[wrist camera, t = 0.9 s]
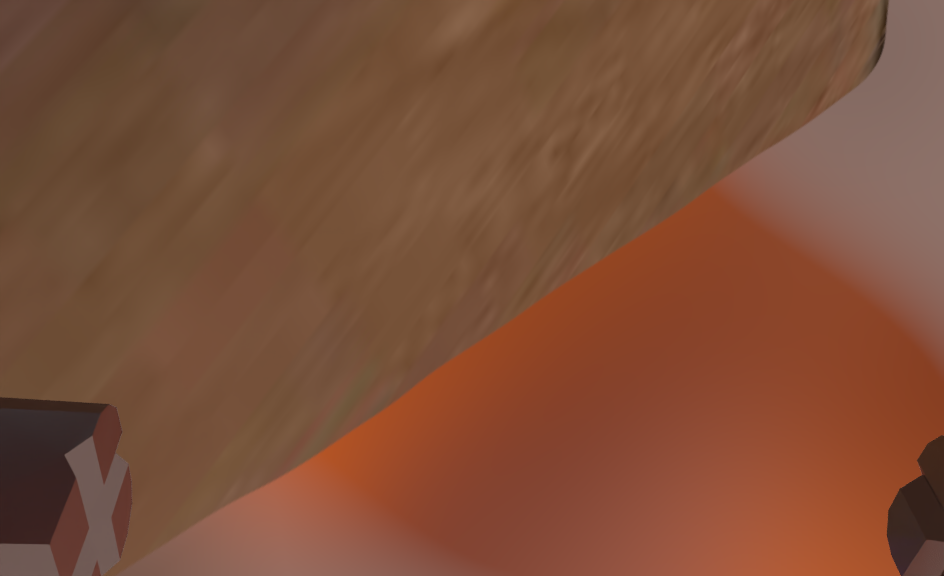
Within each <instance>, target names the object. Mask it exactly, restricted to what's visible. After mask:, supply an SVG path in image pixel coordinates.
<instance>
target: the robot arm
mask: <svg viewBox="0 0 944 576" xmlns="http://www.w3.org/2000/svg"><path fill="white" fill-rule="evenodd" d="M121 434H122V428H121V424H120V420H119V416H118V411H117V407H114V406H112V405H110V404H98V403H82V402H66V401H50V400H34V399H18V398H2V397H0V576H102V575H103V574H105V573H106V572H107V571H108V570H109V569H110V568H112V567H113V566H114V565H115V564H116V563H117V562H119V561H120V559H121V555H122V552H123V548H124V545H125V541H126V538H127V534H128V528H129V521H130V514H131V507H132V481H131V475H130V469H129V464H128V463H127V462H126V461H125V460H123V459H122V458H121V457H120V456H119V455H117V454H116V453H115V452H116V449H117V446H118V443H119V440H120V437H121ZM917 461H918V464H919V466H920V470H921V472H922V476H920V477H918V478H916V479H915V480H913V481H912V482H910V483H908V484H907V485H906V486H904V487H902V488H900V490H899V492H898V494H897V495H896V497H895V499H894V501H893V503H892V505H891V506H890V508H889V511H888V526H887V538H888V542H889V546H890V550H891V555H892V557H893V559H894V562H895V564H896V566H897V568H898V570H899V572H900V575H901V576H944V436H940V437H938V438H936V439H935V440H933V441H931V442H930V443H928V444H927V446H926V447H925V449H924V450H923V452H922V454H921V455H920V457H919V458H918V460H917Z"/></svg>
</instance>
